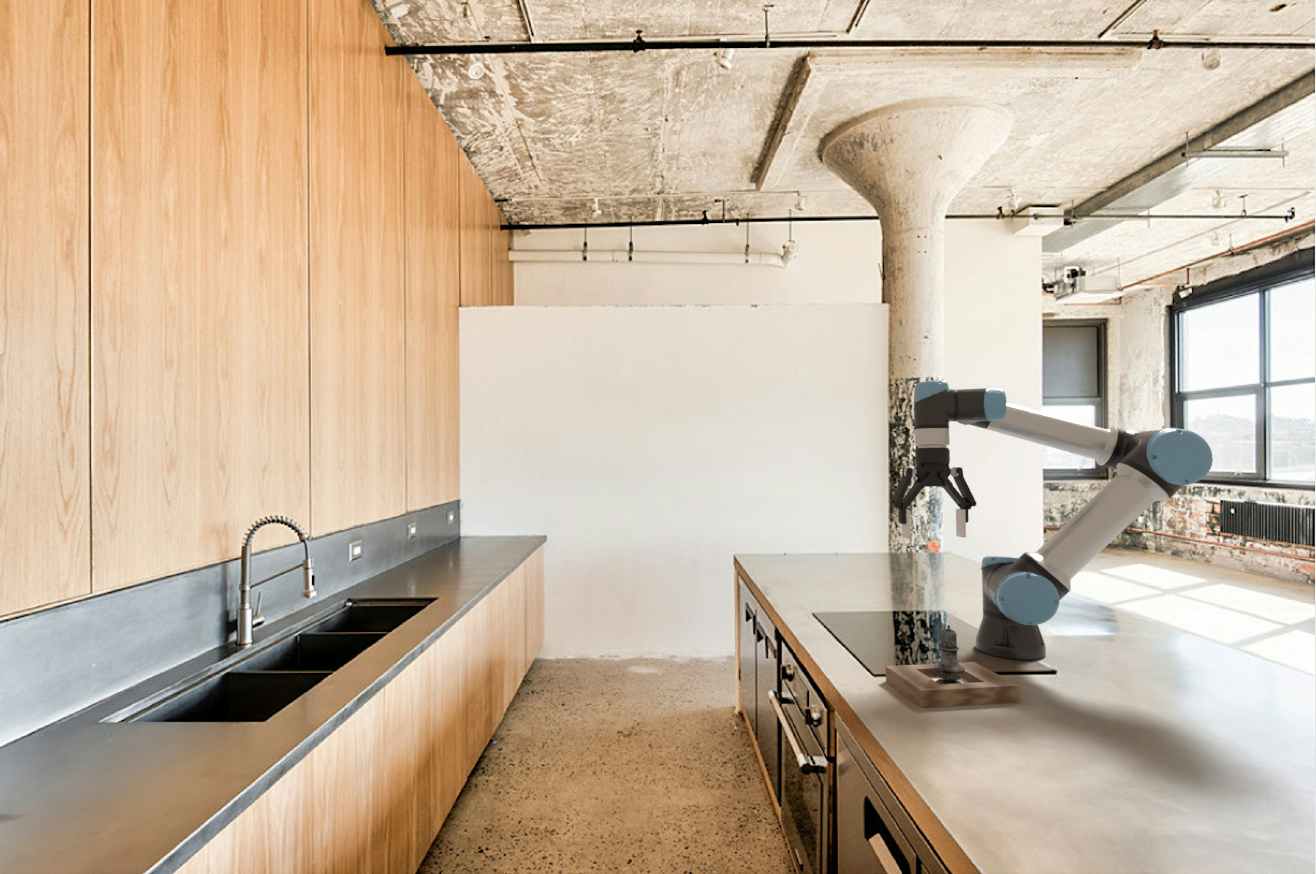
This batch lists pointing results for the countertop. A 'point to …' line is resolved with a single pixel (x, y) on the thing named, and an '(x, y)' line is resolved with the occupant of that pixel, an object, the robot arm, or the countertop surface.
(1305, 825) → the countertop surface
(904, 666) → the wooden frame
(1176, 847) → the countertop surface
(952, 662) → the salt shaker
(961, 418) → the robot arm
